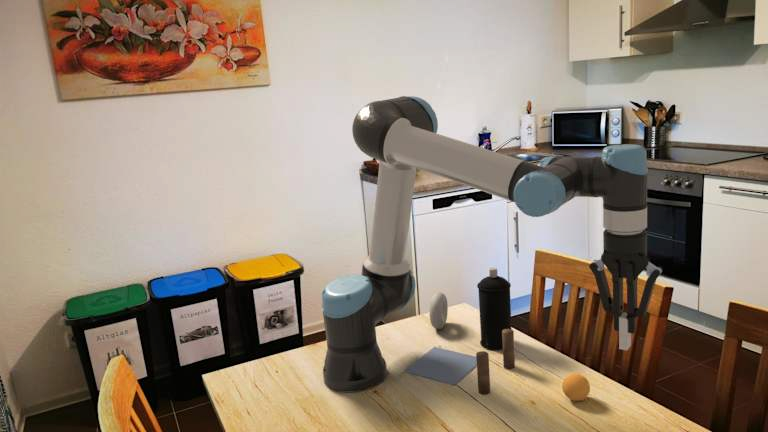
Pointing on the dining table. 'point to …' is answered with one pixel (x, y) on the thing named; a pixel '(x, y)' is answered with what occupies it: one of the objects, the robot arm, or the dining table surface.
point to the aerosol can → (494, 309)
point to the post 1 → (483, 372)
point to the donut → (438, 310)
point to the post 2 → (508, 348)
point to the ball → (576, 387)
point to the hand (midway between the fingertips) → (625, 346)
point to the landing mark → (443, 365)
